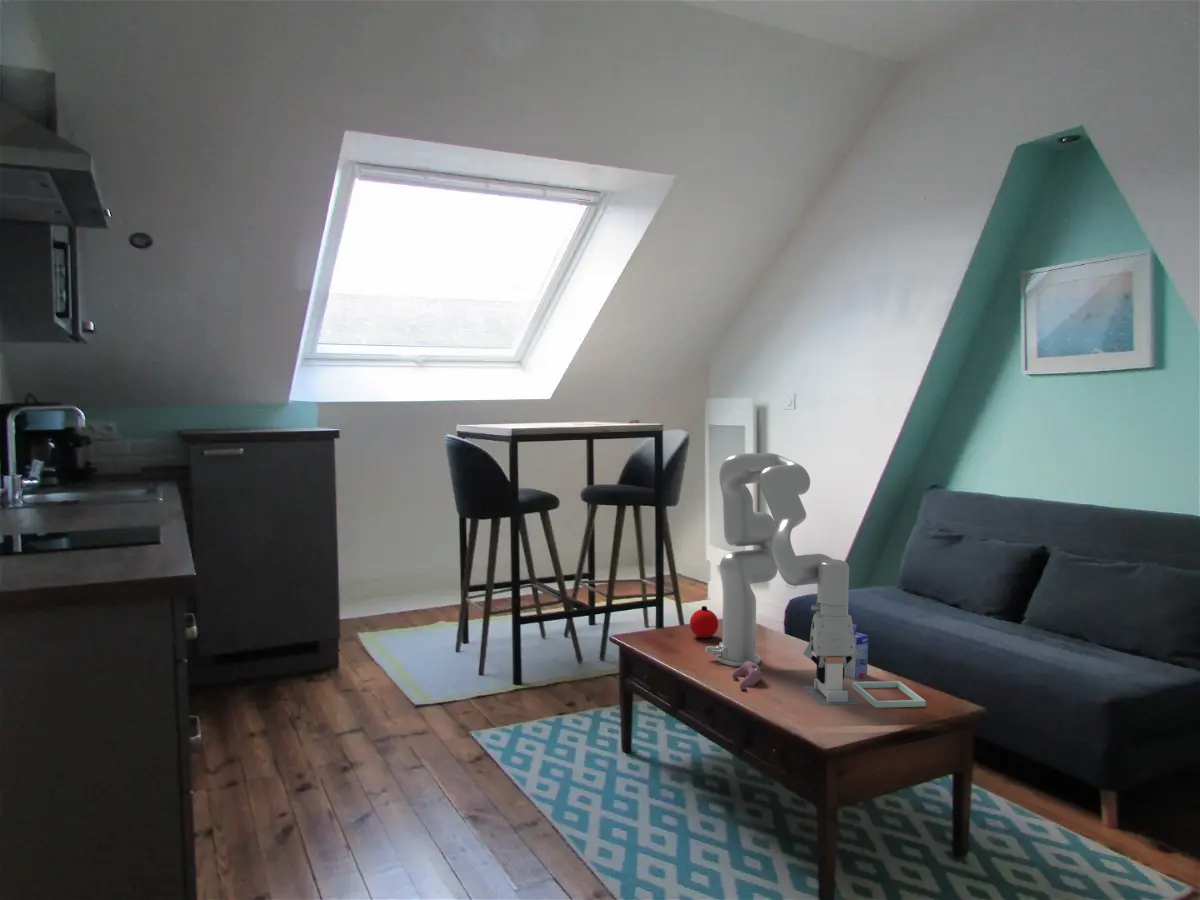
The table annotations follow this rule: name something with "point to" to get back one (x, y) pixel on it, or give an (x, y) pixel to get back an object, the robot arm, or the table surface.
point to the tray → (915, 702)
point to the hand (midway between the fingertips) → (830, 680)
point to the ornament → (704, 623)
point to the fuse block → (830, 696)
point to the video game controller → (748, 674)
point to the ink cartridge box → (858, 657)
